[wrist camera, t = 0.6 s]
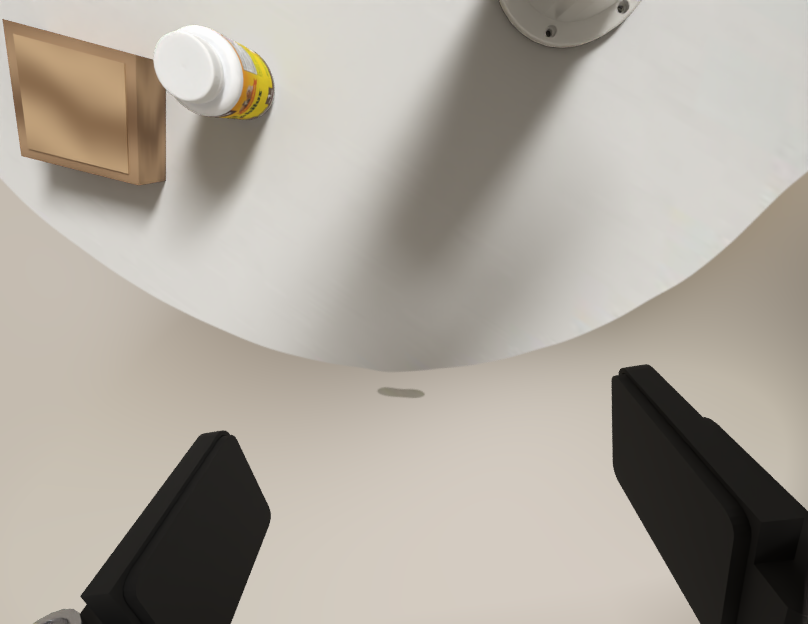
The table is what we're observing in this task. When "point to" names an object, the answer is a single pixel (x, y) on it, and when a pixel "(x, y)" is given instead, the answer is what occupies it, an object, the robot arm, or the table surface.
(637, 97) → the table surface
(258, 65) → the supplement bottle
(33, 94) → the base
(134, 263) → the table surface
